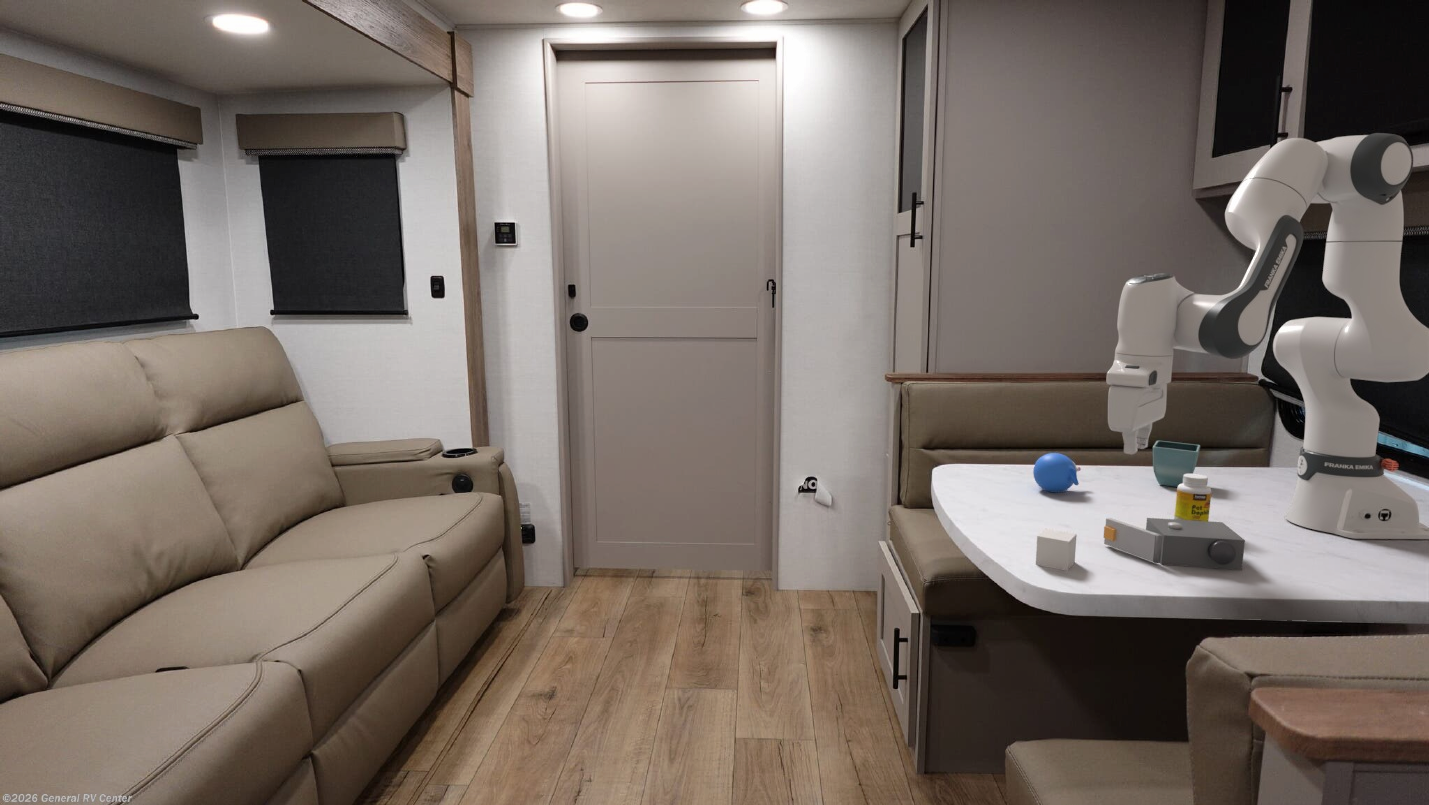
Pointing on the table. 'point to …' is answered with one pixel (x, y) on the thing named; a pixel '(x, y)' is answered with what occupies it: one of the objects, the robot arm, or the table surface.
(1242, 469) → the table surface
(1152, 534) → the side door
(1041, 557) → the white cube
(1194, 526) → the camera body
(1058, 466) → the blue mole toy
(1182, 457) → the flower pot
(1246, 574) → the table surface
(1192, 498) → the supplement bottle
